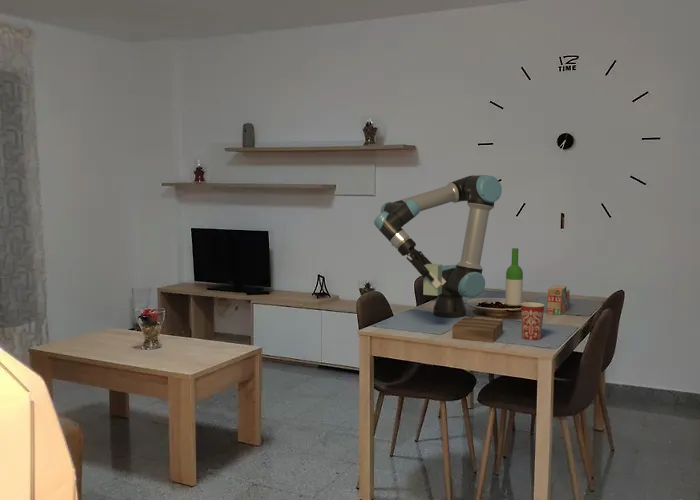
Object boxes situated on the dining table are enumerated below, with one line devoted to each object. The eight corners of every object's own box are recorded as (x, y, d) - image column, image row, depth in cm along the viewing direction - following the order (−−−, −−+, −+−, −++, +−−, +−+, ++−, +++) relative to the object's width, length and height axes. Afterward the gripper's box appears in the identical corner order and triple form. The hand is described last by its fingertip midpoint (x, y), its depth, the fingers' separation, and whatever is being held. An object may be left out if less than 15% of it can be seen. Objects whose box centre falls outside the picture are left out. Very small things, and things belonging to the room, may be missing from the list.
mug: (542, 341, 253) (543, 307, 251) (518, 339, 256) (519, 305, 254) (544, 334, 264) (546, 301, 263) (521, 332, 268) (522, 300, 266)
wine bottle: (501, 310, 314) (503, 248, 311) (511, 308, 319) (512, 247, 316) (515, 313, 308) (517, 249, 305) (524, 311, 313) (527, 248, 310)
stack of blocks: (556, 306, 325) (557, 282, 324) (569, 308, 322) (570, 283, 321) (546, 314, 307) (547, 288, 305) (560, 315, 304) (561, 289, 302)
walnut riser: (463, 329, 273) (464, 317, 273) (502, 333, 267) (502, 320, 266) (452, 338, 257) (452, 325, 256) (493, 342, 250) (493, 329, 250)
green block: (427, 292, 272) (428, 263, 271) (441, 293, 270) (442, 264, 268) (423, 294, 267) (423, 265, 265) (437, 295, 264) (437, 266, 263)
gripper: (405, 247, 281) (441, 287, 276) (389, 251, 264) (427, 294, 259) (417, 235, 278) (454, 275, 273) (401, 239, 261) (441, 282, 256)
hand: (441, 285), depth 266 cm, fingers closed on green block, 6 cm apart
